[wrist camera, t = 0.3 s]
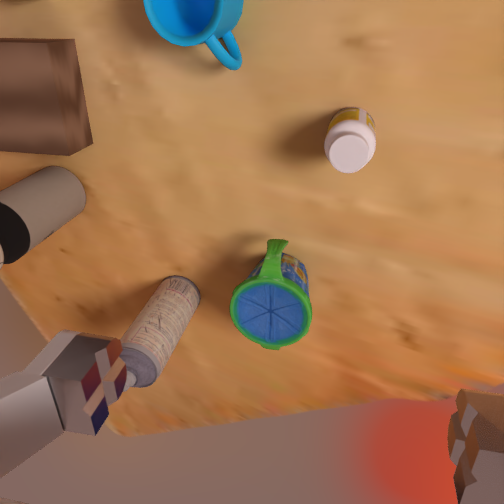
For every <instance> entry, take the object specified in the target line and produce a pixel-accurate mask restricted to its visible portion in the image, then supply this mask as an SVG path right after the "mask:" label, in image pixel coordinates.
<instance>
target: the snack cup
mask: <svg viewBox="0 0 504 504" xmlns="http://www.w3.org/2000/svg"><path fill="white" fill-rule="evenodd" d="M287 244H288V241H286V240H283V239H282V240H281V239H270V240H268V241H267V246H268V247H267V253H266V256H265V258H264V259H263V260H262V261H260V263H259V264H258V265H257V266H256V267H255V269H254V270H253V271H252V272H251V274H250V275H249V276H248V277H247V279H246V280H244V281H243V282H242V283H241V284H239V285H238V286H237V287H236V288H235V289H234V291H233V296H232V298H231V302H230V315H231V318H232V321H233V323H234V324H235V326H236V327H237V329H238V330H239V331H240V332H241V333H242V334H243V335H244V336H245V337H247V338H248V339H250V340H251V341H253V342H255V343H258V344H260V345H261V346H262V347H263V348H266V349H272V350H279V349H280V347H282V346H287V345H291V344H293V343H295V342H297V341H299V340H300V339H301V338H302V337H303V336H305V335H306V334H307V333H308V330H309V327H310V324H311V320H312V307H311V303H310V299H309V283H308V276H307V272H306V269H305V267H304V264H302V263H301V262H299V261H298V260H297V259H296V258H294V257H292V256H290V255H287V254H285V253H282V250H283V249H284V247H285V246H286V245H287Z"/></svg>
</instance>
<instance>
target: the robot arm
mask: <svg viewBox="0 0 504 504" xmlns="http://www.w3.org/2000/svg"><path fill="white" fill-rule="evenodd" d="M122 351H123V349H122V345H121V341H120V340H119V339H117V338H113V337H107V336H101V335H95V334H90V333H84V332H76V331H70V330H63V331H60V332H59V333H58V334H57V335H56V336H55V337H54V338H53V339H52V340H51V341H50V342H49V343H48V344H47V345H46V346H45V348H44V349H43V350H42V351H41V352H40V353H39V354H38V355H37V356H36V357H35V358H34V359H33V361H32V362H31V363H30V364H29V365H28V366H27V367H26V368H25V369H24V370H23V371H22V372H14V373H12V374H10V375H8V376H6V377H3V378H1V379H0V478H2V477H3V476H5V475H6V474H7V473H9V472H10V471H12V470H13V469H14V468H16V467H17V466H18V465H20V464H21V463H23V462H24V461H25V460H27V459H28V458H29V457H31V456H32V455H33V454H35V453H36V452H38V451H39V450H41V449H42V448H43V447H45V446H46V445H47V444H49V443H50V442H52V441H53V440H54V439H56V438H57V437H59V436H60V435H61V434H62V433H64V431H69V432H75V433H81V434H87V435H94V436H96V434H97V433H98V431H99V430H100V428H101V426H102V425H103V423H104V422H105V420H106V418H107V417H108V415H109V411H108V406H109V405H111V404H112V403H114V402H116V401H117V400H118V399H119V397H120V396H121V394H122V392H123V390H124V387H125V383H126V380H127V369H126V364H125V362H124V361H123V360H122V359H121V358H120V357H119V355H120V354H121V352H122ZM456 405H457V409H458V411H457V412H456V413H454V414H453V415H451V419H450V423H449V427H448V450H449V455H450V459H451V460H452V462H453V463H454V464H455V465H456V466H457V467H456V471H455V474H454V477H453V478H454V484H455V489H456V494H457V500H458V504H504V394H496V393H489V392H483V391H475V390H468V389H461V390H460V391H459V392H458V395H457V398H456ZM0 504H27V503H23V502H18V501H14V500H10V499H6V498H1V497H0Z"/></svg>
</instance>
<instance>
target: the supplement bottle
mask: <svg viewBox="0 0 504 504" xmlns="http://www.w3.org/2000/svg"><path fill="white" fill-rule="evenodd" d="M375 147H376V137H375V125H374V121H373V119H372V117H371V116H370V115H369V113H368V112H366V111H365V110H363V109H361V108H357V107H348V108H345V109H342V110H340V111H339V112H338V113H336V114H335V115H334V117H333V118H332V120H331V122H330V124H329V127H328V131H327V134H326V138H325V143H324V150H325V154H326V157H327V158H328V160H329V161H330V163H331V164H332V166H333V167H334V168H335V169H337V170H338V171H340V172H343V173H353V172H356V171H358V170H360V169H361V168H363V167H364V166H365V165H366V164H367V163H368V162H369V161H370V160H371V158H372V156H373V154H374V152H375Z"/></svg>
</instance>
